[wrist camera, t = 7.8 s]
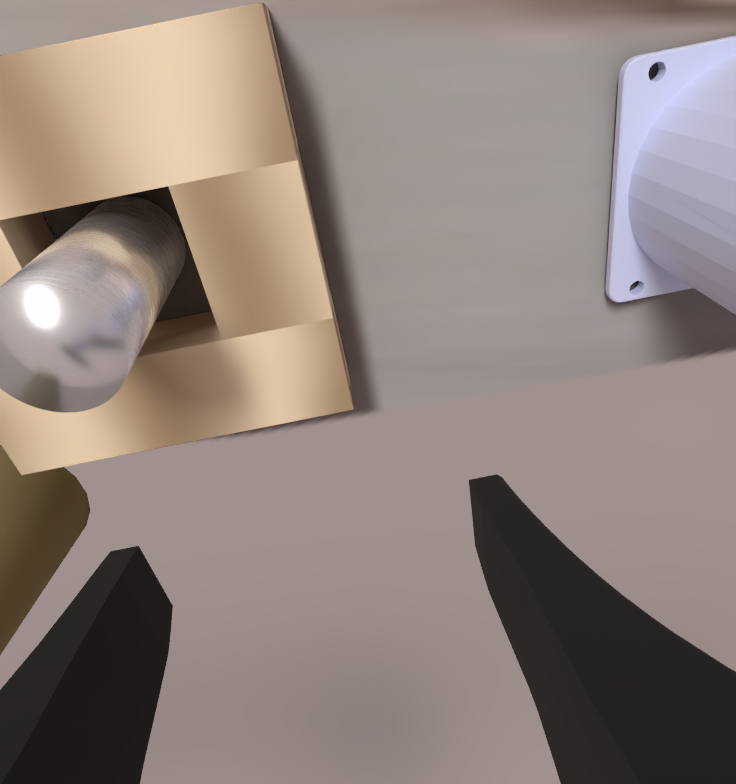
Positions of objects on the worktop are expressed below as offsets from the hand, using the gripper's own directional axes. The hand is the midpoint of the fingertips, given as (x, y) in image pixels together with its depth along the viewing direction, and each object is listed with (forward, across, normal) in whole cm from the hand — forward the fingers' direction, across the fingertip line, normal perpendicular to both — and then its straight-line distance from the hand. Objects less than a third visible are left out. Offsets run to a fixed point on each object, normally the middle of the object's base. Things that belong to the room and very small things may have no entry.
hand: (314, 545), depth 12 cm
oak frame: (+10, +5, -4) cm, 12 cm away
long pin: (+10, +5, -4) cm, 12 cm away
